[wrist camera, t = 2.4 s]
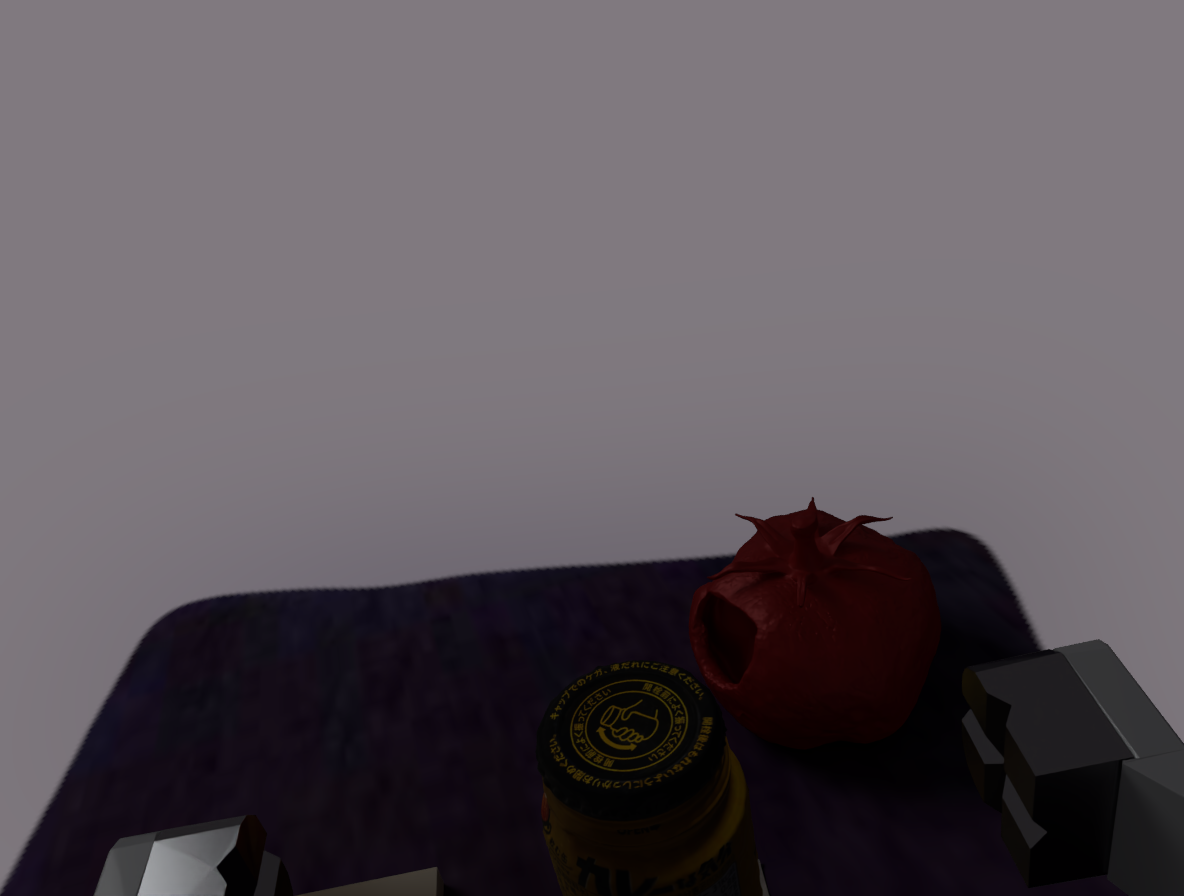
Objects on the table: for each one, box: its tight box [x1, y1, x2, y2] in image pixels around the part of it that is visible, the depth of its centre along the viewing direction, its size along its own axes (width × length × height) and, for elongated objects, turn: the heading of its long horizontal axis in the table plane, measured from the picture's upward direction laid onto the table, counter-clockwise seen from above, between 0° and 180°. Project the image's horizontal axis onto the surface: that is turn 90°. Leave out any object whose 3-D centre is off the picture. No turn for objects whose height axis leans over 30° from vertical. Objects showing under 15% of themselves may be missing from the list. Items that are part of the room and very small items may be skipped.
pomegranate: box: [689, 497, 941, 750], centre depth 42 cm, size 10×10×9 cm
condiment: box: [536, 660, 769, 896], centre depth 31 cm, size 7×8×12 cm
